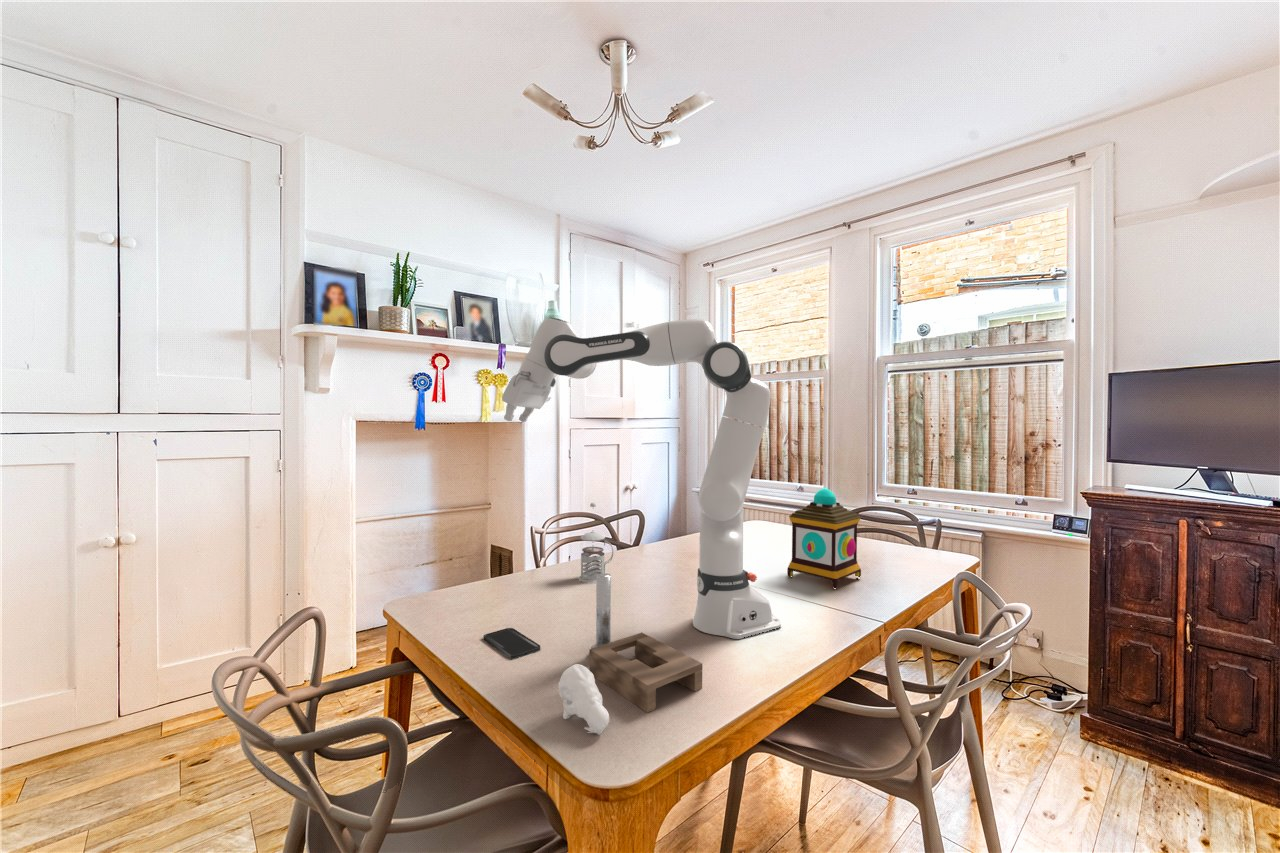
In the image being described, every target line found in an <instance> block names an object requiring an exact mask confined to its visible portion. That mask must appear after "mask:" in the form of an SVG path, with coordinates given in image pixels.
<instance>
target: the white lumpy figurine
mask: <svg viewBox="0 0 1280 853" xmlns="http://www.w3.org/2000/svg"><path fill="white" fill-rule="evenodd" d="M557 686H558V695H559V696H560V698H561V700H562V706H563V714H562V717H563V720H569V718H570V717H571V716H574V715H576V716H577V717H578V718H581V719H583V720H584V721H586V723H587V725H588V726H584V728H583V729H584V730H586V731H588V732H586V734H587V733H588V734H597V735H598V736H599V735H601V734H602V732H603V731H604V730H605V729H606V728H607V727H608V725H609V722H610V714H609V712H608V710H607V709H606V708H605V706H604V705H603V695H602V692H600V690H599V688H598V686H597V684H596V679H595V676H594V675H593V673H591V672H590V671H589V667H586V666H585V665H582V664H577V663H575V664H572V665H571V666H570V667H568V668H567V669H565V670H564V671H563V672H562V674H561V676H560V680H559V682H558V683H557Z"/></svg>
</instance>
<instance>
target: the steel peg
mask: <svg viewBox="0 0 1280 853" xmlns="http://www.w3.org/2000/svg"><path fill="white" fill-rule="evenodd" d="M611 583H612V575H611V574H610V573H606V572H605V573H601V574H597V575H596V583H595V584H596V586H595V588H596V593H595V594H596V595H595V597H596V598H595V599H596V601H595V604H596V606H595V608H596V612H595V614H596V616H595V620H596V622H595V626H596V627H595V628H596V629H595V632H596V633H595V634H596V636H595V638H596V639H595V640H596V641H595V644H593V645H592V646H591V647H590V649H592V648H595V647H598V646H601V645H604V644H607V643H610V642H612V641H611V639H612V638H611V636H612V635H611V628H612V627H611V626H612V625H611V619H612V618H611V617H612V615H611V611H612V609H611V608H612V607H611V606H612V605H611V602H612V601H611V598H612V590H611V589H612V587H611V586H612V584H611Z"/></svg>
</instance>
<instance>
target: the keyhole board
mask: <svg viewBox="0 0 1280 853" xmlns="http://www.w3.org/2000/svg"><path fill="white" fill-rule="evenodd" d="M630 648H634V658H635V659H633V660H630V659H628V658H627V657H625V656H623V655H621V654H620V653H619V652H621V651H624V650H628V649H630ZM588 653H589V654H588V655H589V656H588V657H589V660H588V661H589V667H588V669H589V671H590V672H591V673H593V675H594V678H596V679H597V680H599V681H601V682H602V683H603V684H605V685H606V686H608V687H609V688H611V689H612V690H613V691H615V692H617V693H618V694H619V695H621V696H622V697H624V698H625V699H627V700H628V701H629V702H631V703H632V704H634V705H636V706H637V707H638V708H640V709H641V710H643V711H644V712H645V713H649V712H652V711H654V710H656V708H657V689H658V688H661V687H663V686H664V685H668V684H669V683H673V682H677V683H680V684H681V685H683V686H684V685H685V687H686V688H688V689H690V690H691V691H693V692H697V691H700V690H702V689H703V662H701V661H699V660H697V659H695V658H693V657H691V656H689V655H687V654H686V653H683V652H681V651H679V650H677V649H676V648H674V647H671V646H669V645H667V644H666V643H663V642H661V641H659V640H657V639H656V638H653V637H652V636H650V635H647V634H646V633H644V632H639V633H635V634H632V635H630V636H626V637H624V638H620V639H617V640H614V641H611V642H610V643H607V644H604V645H601V646H598V647H595V648H592V649H591V648H589V652H588ZM701 688H702V689H701ZM699 689H700V690H699Z"/></svg>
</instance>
